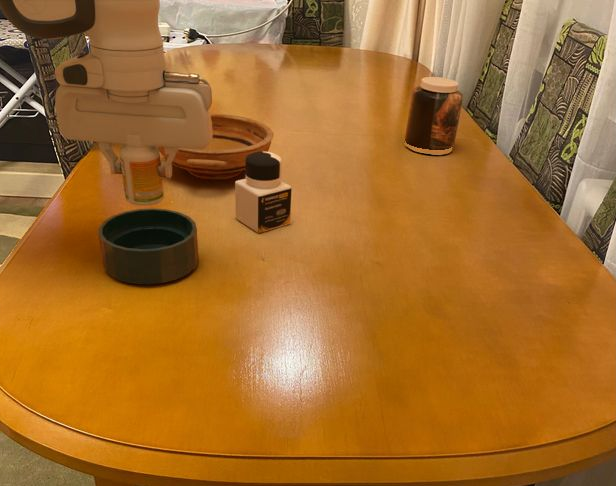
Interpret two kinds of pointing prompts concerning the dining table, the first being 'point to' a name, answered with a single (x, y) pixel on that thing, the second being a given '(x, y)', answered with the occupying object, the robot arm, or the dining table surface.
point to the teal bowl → (148, 245)
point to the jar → (434, 114)
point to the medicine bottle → (263, 193)
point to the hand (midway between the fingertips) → (141, 174)
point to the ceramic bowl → (225, 148)
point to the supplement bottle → (141, 172)
